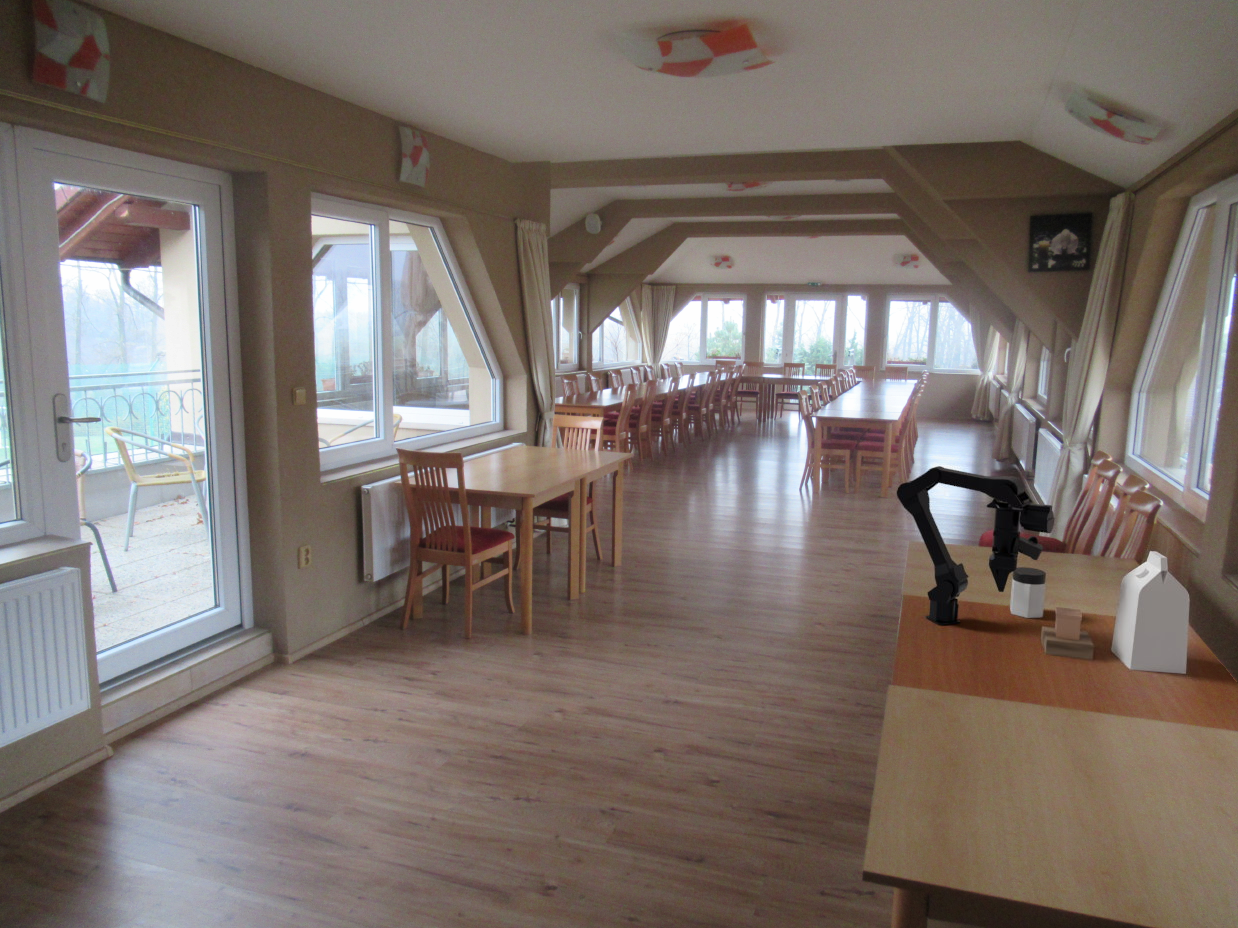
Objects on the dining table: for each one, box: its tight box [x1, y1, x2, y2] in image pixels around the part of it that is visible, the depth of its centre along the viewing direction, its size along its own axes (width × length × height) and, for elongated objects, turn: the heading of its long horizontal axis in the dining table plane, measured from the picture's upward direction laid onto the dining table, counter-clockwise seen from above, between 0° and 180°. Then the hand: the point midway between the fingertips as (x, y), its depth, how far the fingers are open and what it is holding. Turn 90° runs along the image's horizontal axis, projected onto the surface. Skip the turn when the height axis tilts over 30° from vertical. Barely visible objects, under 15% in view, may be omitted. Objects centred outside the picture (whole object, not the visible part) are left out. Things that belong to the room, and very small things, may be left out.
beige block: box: [1040, 626, 1095, 661], centre depth 206 cm, size 10×10×4 cm
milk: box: [1110, 550, 1191, 675], centre depth 197 cm, size 12×12×26 cm
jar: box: [1009, 566, 1047, 619], centre depth 232 cm, size 9×8×12 cm
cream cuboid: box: [1054, 606, 1083, 640], centre depth 205 cm, size 5×5×6 cm
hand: (1001, 586), depth 215 cm, fingers open, 9 cm apart
